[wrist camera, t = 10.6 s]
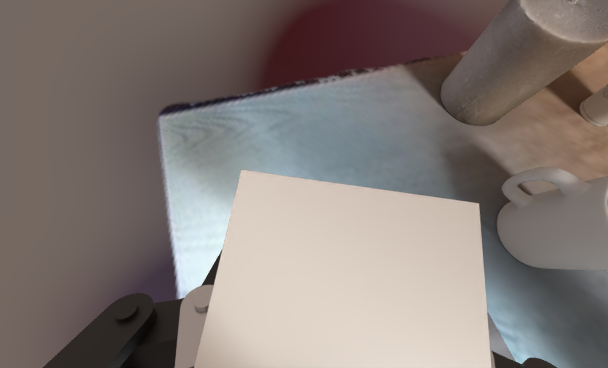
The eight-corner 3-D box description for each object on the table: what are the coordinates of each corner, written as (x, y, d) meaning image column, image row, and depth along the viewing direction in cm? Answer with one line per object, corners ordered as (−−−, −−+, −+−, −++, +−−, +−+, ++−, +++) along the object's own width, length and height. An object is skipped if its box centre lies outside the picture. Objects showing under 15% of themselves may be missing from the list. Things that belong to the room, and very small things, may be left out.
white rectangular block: (368, 236, 15) (478, 203, 6) (361, 340, 14) (503, 538, 4) (278, 222, 16) (241, 169, 6) (260, 323, 14) (168, 476, 4)
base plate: (440, 242, 29) (493, 237, 21) (504, 357, 25) (595, 403, 18) (344, 286, 27) (363, 298, 19) (399, 415, 24) (447, 493, 16)
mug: (577, 232, 29) (730, 219, 19) (544, 284, 28) (694, 301, 17) (494, 168, 32) (590, 125, 21) (459, 212, 30) (545, 188, 19)
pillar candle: (517, 111, 35) (671, 7, 20) (465, 137, 33) (591, 43, 19) (475, 64, 37) (585, -59, 23) (425, 85, 36) (509, -31, 21)
